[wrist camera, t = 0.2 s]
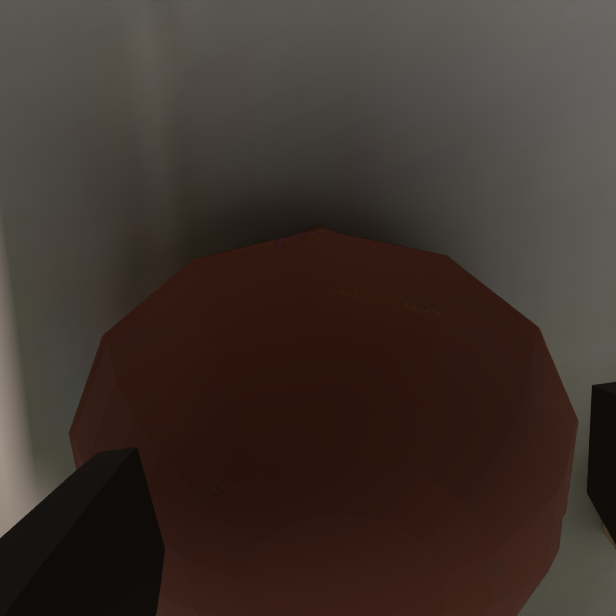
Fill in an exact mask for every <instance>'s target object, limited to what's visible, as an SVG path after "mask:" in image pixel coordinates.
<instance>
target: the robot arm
mask: <svg viewBox="0 0 616 616" xmlns="http://www.w3.org/2000/svg"><path fill="white" fill-rule="evenodd" d="M587 494H588V495H589V497H590V499H591V501H592V503H593V505H594V507H595V509H596V510H597V512H598V514H599V516H600V518H601V520H602V522H603V524H604V525H605V527H606V529H607V531H608V532H609V534H610V536H611V537H612V539H613V541H614V543H615V544H616V382H612V383H604V384H597V385H592V396H591V417H590V438H589V459H588V479H587ZM164 555H165V546H164V542H163V539H162V535H161V532H160V528H159V524H158V521H157V517H156V513H155V510H154V506H153V502H152V499H151V495H150V491H149V488H148V484H147V481H146V477H145V473H144V470H143V466H142V462H141V459H140V455H139V451H138V448H137V447H132V448H124V449H117V450H109V451H102V452H98V453H97V454H96V455H94V456H93V457H92V458H90V459H89V460H88V461H87V462H86V463H84V464H83V465H82V466H81V467H80V468H79V469H77V470H76V471H75V472H74V473H73V474H72V475H71V476H69V477H68V478H67V479H66V480H65V481H64V482H63V483H62V484H60V485H59V486H58V487H57V488H56V489H55V490H54V491H53V492H52V493H50V494H49V495H48V496H47V497H46V498H45V499H44V500H43V501H42V502H40V503H39V504H38V505H37V506H36V507H35V508H34V509H33V510H31V511H30V512H29V513H28V514H27V515H26V516H25V517H24V518H22V519H21V520H20V521H19V522H18V523H17V524H16V525H15V526H13V527H12V528H11V529H10V530H9V531H8V532H7V533H6V534H4V535H3V536H2V537H1V538H0V616H156V613H157V607H158V600H159V594H160V587H161V580H162V572H163V564H164Z"/></svg>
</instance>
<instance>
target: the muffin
mask: <svg viewBox="0 0 616 616" xmlns="http://www.w3.org/2000/svg"><path fill="white" fill-rule="evenodd" d="M577 427H578V419H577V417H576V415H575V412H574V410H573V407H572V405H571V403H570V400H569V398H568V395H567V393H566V391H565V388H564V386H563V384H562V381H561V379H560V376H559V374H558V372H557V369H556V367H555V365H554V362H553V360H552V357H551V355H550V353H549V350H548V348H547V346H546V343H545V341H544V338H543V336H542V334H541V331H540V329H539V327H537V326H536V325H535V324H534V323H532V322H531V321H530V320H528V319H527V318H526V317H525V316H523V315H522V314H521V313H520V312H518V311H517V310H516V309H514V308H513V307H512V306H511V305H509V304H508V303H507V302H505V301H504V300H503V299H502V298H500V297H499V296H498V295H496V294H495V293H494V292H493V291H491V290H490V289H489V288H487V287H486V286H485V285H484V284H482V283H481V282H480V281H479V280H477V279H476V278H475V277H473V276H472V275H471V274H470V273H468V272H467V271H466V270H464V269H463V268H462V267H461V266H459V265H458V264H457V263H455V262H454V261H453V260H452V259H450V258H449V257H448V256H445V255H440V254H436V253H431V252H426V251H421V250H416V249H412V248H407V247H402V246H397V245H392V244H388V243H383V242H378V241H373V240H368V239H364V238H359V237H354V236H349V235H344V234H342V233H339V232H337V231H335V230H333V229H330V228H328V227H326V226H324V225H321V224H319V225H317V226H314V227H312V228H309V229H307V230H305V231H302V232H300V233H297V234H295V235H292V236H290V237H285V238H281V239H277V240H273V241H269V242H264V243H260V244H256V245H252V246H247V247H243V248H239V249H235V250H230V251H226V252H222V253H218V254H214V255H209V256H205V257H201V258H197V259H193V260H192V261H190V262H189V263H188V264H187V265H186V266H184V267H183V268H182V269H181V270H180V271H179V272H177V273H176V274H175V275H174V276H173V277H171V278H170V279H169V280H168V281H167V282H166V283H164V284H163V285H162V286H161V287H160V288H159V289H157V290H156V291H155V292H154V293H153V294H151V295H150V296H149V297H148V298H147V299H146V300H144V301H143V302H142V303H141V304H140V305H138V306H137V307H136V308H135V309H134V310H133V311H131V312H130V313H129V314H128V315H127V316H125V317H124V318H123V319H122V320H121V321H120V322H118V323H117V324H116V325H115V326H114V327H112V328H111V329H110V330H109V331H108V332H107V333H105V334H104V335H103V336H102V339H101V342H100V345H99V348H98V351H97V354H96V356H95V359H94V362H93V365H92V368H91V371H90V374H89V377H88V380H87V382H86V385H85V388H84V391H83V394H82V397H81V400H80V403H79V405H78V408H77V411H76V414H75V417H74V420H73V423H72V426H71V428H70V431H69V437H70V441H71V446H72V450H73V455H74V459H75V464H76V468H77V469H79V468H80V467H81V466H82V465H83V464H84V463H86V462H87V461H88V460H89V459H90V458H92V457H93V456H94V455H96V454H97V453H98V452H102V451H109V450H117V449H124V448H132V447H137V448H138V451H139V455H140V459H141V462H142V466H143V470H144V473H145V477H146V481H147V484H148V488H149V491H150V495H151V499H152V502H153V506H154V510H155V513H156V517H157V521H158V524H159V528H160V532H161V535H162V539H163V542H164V546H165V555H164V564H163V572H162V580H161V587H160V594H159V600H158V607H157V613H156V615H157V616H516V615H517V614H518V613H519V611H520V610H521V608H522V607H523V606H524V604H525V603H526V601H527V600H528V599H529V597H530V596H531V594H532V593H533V592H534V590H535V589H536V587H537V586H538V585H539V583H540V582H541V581H542V579H543V578H544V576H545V575H546V574H547V572H548V571H549V568H550V566H551V564H552V562H553V560H554V558H555V556H556V554H557V552H558V550H559V545H560V536H561V526H562V517H563V516H564V515H565V513H566V507H567V499H568V492H569V485H570V478H571V470H572V463H573V456H574V449H575V441H576V434H577Z"/></svg>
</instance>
